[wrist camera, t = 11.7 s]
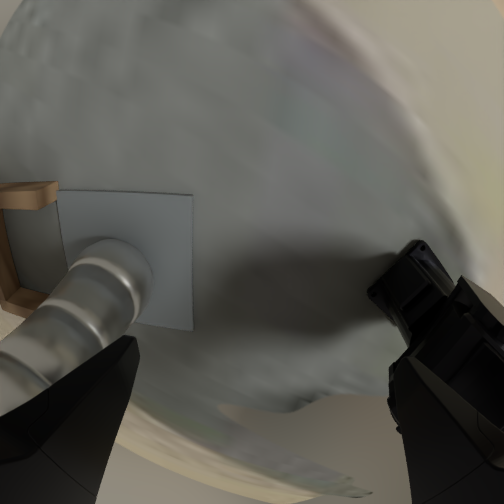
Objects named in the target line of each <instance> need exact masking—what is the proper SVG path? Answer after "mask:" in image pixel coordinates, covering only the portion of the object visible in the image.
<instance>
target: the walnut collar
mask: <svg viewBox="0 0 504 504" xmlns="http://www.w3.org/2000/svg"><path fill="white" fill-rule="evenodd" d="M57 190H59V187H58V181H46V182H20V183H2V184H0V304H1V307H2V309H3V310H4V311H7V312H9V313H12V314H15V315H18V316H20V317H23V318H26V319H27V318H28V317H29V316H30V315H31V314H32V313H33V312H34V311H35V310H36V309H37V308H38V307H39V306H40V305H41V304H42V303H43V302H44V301H45V300H46V299H47V298H48V296H49V294H45V293H41V292H37V291H33V290H29V289H26V288H22V287H21V286H20V283H19V280H18V276H17V273H16V269H15V266H14V262H13V258H12V254H11V250H10V246H9V242H8V237H7V233H6V228H5V222H4V217H3V211H2V209H24V210H39V209H41V208H43V207H45V206H46V205H48V204H50V203H52V202H54V201H56V200H57V196H56V191H57Z"/></svg>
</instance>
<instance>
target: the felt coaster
mask: <svg viewBox="0 0 504 504" xmlns="http://www.w3.org/2000/svg"><path fill="white" fill-rule="evenodd" d="M56 196H57V206H58V214H59V221H60V228H61V234H62V240H63V246H64V251H65V257H66V262H67V266H68V270H69V268H70V267H71V265H72V264H73V262H74V261H75V259H76V258H77V257H78V255H79V254H80V253H81V252H82V251H83V250H84V249H85V248H86V247H88V246H90V245H92V244H94V243H96V242H99V241H101V240H104V239H117V240H121V241H124V242H126V243H129V244H131V245H132V246H134V247H136V248H137V249H138V250H139V251H140V252H141V253H142V254H143V255H144V257H145V258H146V260H147V261H148V263H149V265H150V267H151V270H152V273H153V278H154V285H153V290H152V294H151V298H150V301H149V304H148V305H147V307H146V308H145V310H144V311H143V312H142V314H141V315H140V316H139V317H138V319H136V320H135V321H134V322H136V323H141V324H147V325H153V326H159V327H165V328H171V329H178V330H185V331H192V332H193V330H194V322H193V282H192V226H193V195H188V194H173V193H156V192H135V191H107V190H57V191H56Z"/></svg>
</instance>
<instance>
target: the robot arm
mask: <svg viewBox="0 0 504 504" xmlns="http://www.w3.org/2000/svg"><path fill="white" fill-rule="evenodd" d="M422 245H423V248H421V249H420V247H421V246H422ZM457 282H458V284H457V285H456V286H455V285H454V283H453V281H452V279H451V278H450V276H449V275H448V273H447V272H446V270H445V269H444V267H443V266H442V264H441V263H440V261H439V260H438V258H437V257H436V256H435V254H434V253H433V251H432V250H431V249H430V247H429V246H428V244H427V243H426V242H424V241H423V240H421V241H419V242H417V243H416V244H415V245H414V246H413V247H412V248H411V249H410V250H409V251H408V252H407V253H406V254H405V255H404V256H403V257H402V258H401V259H400V260H399V261H398V262H397V263H396V264H395V265H394V266H393V267H392V268H391V269H390V270H389V271H388V272H386V273H385V274H384V275H383V276H382V277H381V278H380V279H379V280H378V281H377V282H376V283H375V284H374V285H373V286H371V287H370V288H369V289H368V291H367V295H368V297H369V298H370V299H371V300H372V301H373V302H374V303H375V304H376V305H377V306H378V307H379V308H380V309H381V310H382V311H384V312H385V313H386V314H387V315H388V316H389V317H390V318H391V319H392V320H393V321H394V322H395V323H396V325H397V327H398V329H399V331H400V333H401V335H402V337H403V339H404V341H405V343H406V345H407V347H408V349H407V350H406V351H405V352H404V353H403V354H402V355H401V356H400V358H399V359H398V360H397V361H396V362H393V363H392V364H391V366H390V367H389V397H388V398H387V404H388V406H389V408H390V412H391V415H392V417H393V419H394V420H395V422H396V423H397V425H398V426H397V427H396V430H397V431H398V432H399V433H400V434H402V439H403V444H404V450H405V456H406V462H407V468H408V474H409V482H410V489H411V498H412V504H504V307H503V306H502V305H501V304H500V303H499V302H498V301H497V300H496V299H495V298H494V297H493V296H492V295H491V294H490V293H488V292H487V291H485V290H484V289H482V288H481V287H479V286H478V285H476V284H475V283H473V282H472V281H470V280H469V279H467V278H466V277H464V276H463V275H461V277H460V278H459V280H458V281H457ZM373 292H375V293H374V294H372V293H373ZM139 360H140V353H139V348H138V344H137V340H136V338H135V337H134V336H129V335H123V336H121V337H120V338H118V339H117V340H115V341H114V342H112V343H111V344H110V345H108V346H107V347H105V348H104V349H102V350H101V351H100V352H98V353H97V354H95V355H94V356H92V357H91V358H89V359H88V360H87V361H85V362H84V363H82V364H81V365H79V366H78V367H77V368H75V369H74V370H72V371H71V372H69V373H68V374H67V375H65V376H64V377H62V378H61V379H59V380H58V381H57V382H55V383H54V384H52V385H51V386H49V388H46V389H45V390H44V391H42V392H41V393H39V394H38V395H36V396H35V397H33V398H32V399H30V400H29V401H27V402H25V403H24V404H22V405H20V406H18V407H17V408H15V409H13V410H11V411H9V412H7V413H6V414H4V415H2V416H0V504H95V502H96V496H97V494H98V491H99V488H100V484H101V481H102V478H103V475H104V471H105V468H106V465H107V462H108V459H109V456H110V453H111V450H112V447H113V444H114V441H115V438H116V436H117V433H118V430H119V427H120V424H121V421H122V419H123V416H124V413H125V410H126V408H127V405H128V402H129V399H130V396H131V392H132V388H133V384H134V380H135V376H136V372H137V368H138V364H139Z"/></svg>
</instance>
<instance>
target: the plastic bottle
mask: <svg viewBox="0 0 504 504" xmlns="http://www.w3.org/2000/svg"><path fill="white" fill-rule="evenodd" d="M153 285H154V278H153V273H152V270H151V267H150V265H149V263H148V261H147V260H146V258H145V257H144V255H143V254H142V253H141V252H140V251H139V250H138V249H137V248H136V247H134V246H132V245H131V244H129V243H126V242H124V241H121V240H117V239H104V240H101V241H99V242H96V243H94V244H92V245H90V246H88V247H86V248H85V249H84V250H83V251H82V252H81V253H80V254H79V255H78V257H77V258H76V259H75V261H74V262H73V264H72V265H71V267H70V268H69V270H68V272H67V274H66V275H65V276H64V277H63V279H62V280H61V281H60V282H59V284H58V285H57V286H56V287H55V289H54V290H53V291H52V293H51V294H50V295H49V296H48V298H47V299H46V300H45V301H44V302H43V303H42V304H41V305H40V306H39V307H38V308H37V309H36V310H35V311H34V312H33V313H32V314H31V315H30V316H29V317H28V318H27V319H26V320H25V321H24V322H23V323H22V324H21V325H19V326H18V327H17V328H16V329H15V330H13V331H12V332H11V333H10V334H9V335H7V336H6V337H5V338H4V339H3V340H1V341H0V416H2V415H4V414H6V413H7V412H9V411H11V410H13V409H15V408H17V407H18V406H20V405H22V404H24V403H25V402H27V401H29V400H30V399H32V398H33V397H35V396H36V395H38V394H39V393H41V392H42V391H44V390H45V389H46V388H49V386H51V385H52V384H54V383H55V382H57V381H58V380H59V379H61V378H62V377H64V376H65V375H67V374H68V373H69V372H71V371H72V370H74V369H75V368H77V367H78V366H79V365H81V364H82V363H84V362H85V361H87V360H88V359H89V358H91V357H92V356H94V355H95V354H97V353H98V352H100V351H101V350H102V349H104V348H105V347H107V346H108V345H110V344H111V343H112V342H114V341H115V340H117V339H118V338H120V337H121V336H123V334H124V333H125V331H126V330H127V329H128V327H129V326H130V325H131V324H132V323H133V322H134V321H135V320H136V319H138V317H139V316H140V315H141V314H142V312H143V311H144V310H145V308H146V307H147V305H148V304H149V301H150V298H151V294H152V290H153Z"/></svg>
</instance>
